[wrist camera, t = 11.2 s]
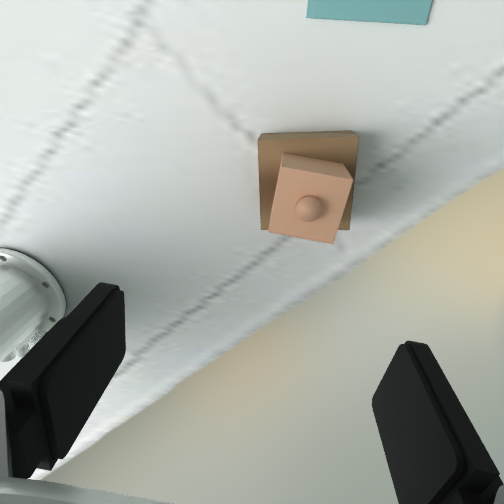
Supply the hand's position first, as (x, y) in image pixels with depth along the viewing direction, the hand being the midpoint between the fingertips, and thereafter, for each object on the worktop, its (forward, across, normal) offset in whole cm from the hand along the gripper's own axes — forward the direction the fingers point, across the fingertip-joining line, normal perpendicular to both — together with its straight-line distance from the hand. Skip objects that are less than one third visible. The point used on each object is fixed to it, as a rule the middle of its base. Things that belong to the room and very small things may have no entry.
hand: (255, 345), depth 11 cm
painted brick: (+19, -3, -1) cm, 19 cm away
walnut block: (+23, -3, -1) cm, 23 cm away
